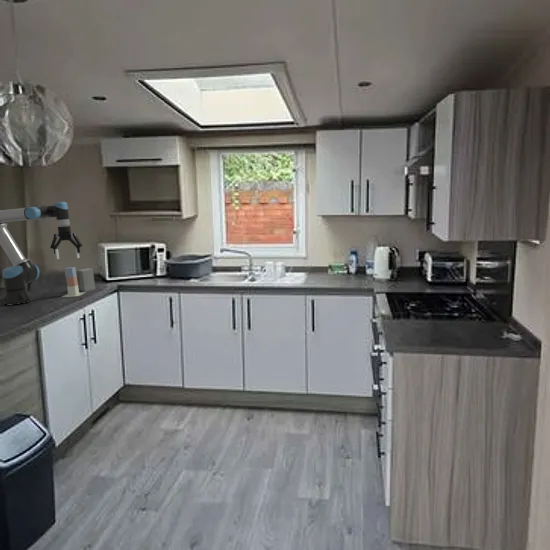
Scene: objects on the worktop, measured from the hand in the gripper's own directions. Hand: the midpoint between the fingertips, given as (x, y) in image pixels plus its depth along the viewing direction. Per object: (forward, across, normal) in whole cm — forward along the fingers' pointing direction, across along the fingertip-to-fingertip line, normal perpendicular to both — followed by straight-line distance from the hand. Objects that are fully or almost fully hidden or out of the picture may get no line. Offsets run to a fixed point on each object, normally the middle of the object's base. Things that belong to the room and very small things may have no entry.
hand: (67, 258), depth 316 cm
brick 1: (+12, +1, 0) cm, 12 cm away
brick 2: (+18, +1, 0) cm, 18 cm away
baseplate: (+25, +1, 0) cm, 25 cm away
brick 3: (+24, +1, 0) cm, 24 cm away
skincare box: (+26, +5, +13) cm, 29 cm away
